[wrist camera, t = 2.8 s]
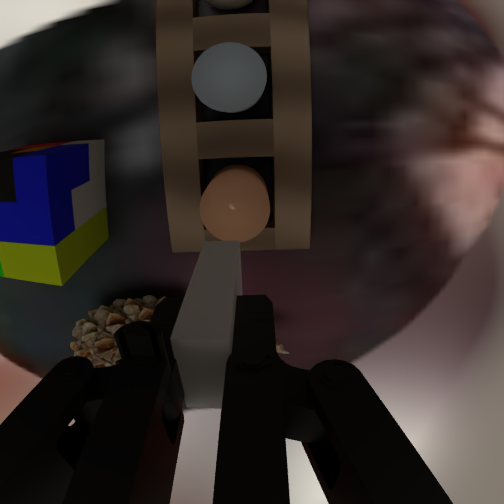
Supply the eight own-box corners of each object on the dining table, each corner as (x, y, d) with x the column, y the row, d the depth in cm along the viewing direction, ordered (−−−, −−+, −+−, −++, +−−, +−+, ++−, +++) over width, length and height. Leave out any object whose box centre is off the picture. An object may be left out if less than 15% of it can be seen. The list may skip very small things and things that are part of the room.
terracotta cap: (206, 165, 26) (196, 176, 21) (266, 163, 26) (269, 173, 21) (210, 221, 28) (202, 243, 23) (267, 219, 28) (270, 241, 23)
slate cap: (202, 57, 22) (190, 45, 17) (263, 54, 22) (265, 40, 17) (204, 114, 24) (192, 114, 19) (265, 111, 24) (267, 110, 19)
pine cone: (110, 349, 37) (82, 406, 28) (83, 283, 33) (40, 335, 24) (287, 339, 36) (295, 406, 27) (280, 264, 32) (290, 324, 23)
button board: (166, -38, 20) (158, -51, 17) (297, -46, 19) (301, -60, 17) (179, 239, 31) (172, 252, 28) (304, 236, 31) (309, 248, 28)
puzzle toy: (104, 139, 27) (45, 155, 18) (109, 237, 31) (62, 285, 22) (26, 145, 27) (-38, 164, 18) (35, 233, 31) (-19, 273, 22)
